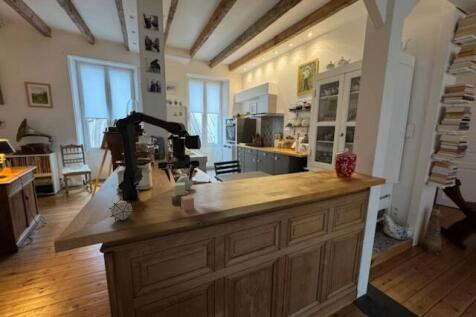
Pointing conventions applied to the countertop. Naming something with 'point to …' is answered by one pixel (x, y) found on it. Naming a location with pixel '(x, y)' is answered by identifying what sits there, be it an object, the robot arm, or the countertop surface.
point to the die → (187, 182)
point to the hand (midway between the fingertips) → (179, 181)
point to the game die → (121, 210)
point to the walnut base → (177, 197)
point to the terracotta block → (187, 202)
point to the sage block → (180, 188)
